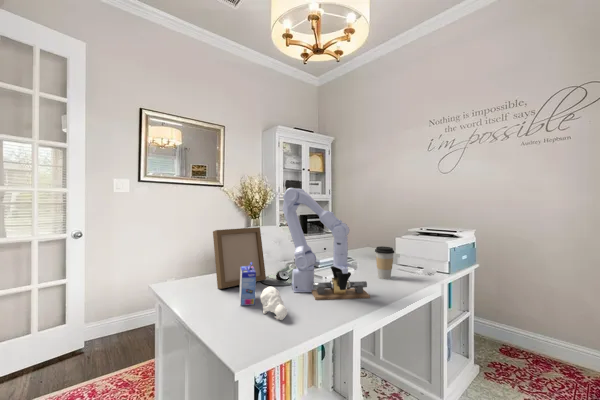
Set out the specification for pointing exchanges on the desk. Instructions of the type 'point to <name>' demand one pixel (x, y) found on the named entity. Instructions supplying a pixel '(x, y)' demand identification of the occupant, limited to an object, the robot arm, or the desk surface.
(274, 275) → the metal bracket
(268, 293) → the white sculpted piece
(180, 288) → the desk surface
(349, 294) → the stand
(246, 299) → the ink cartridge box
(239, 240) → the photo frame
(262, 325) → the desk surface
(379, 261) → the coffee cup
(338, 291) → the block
